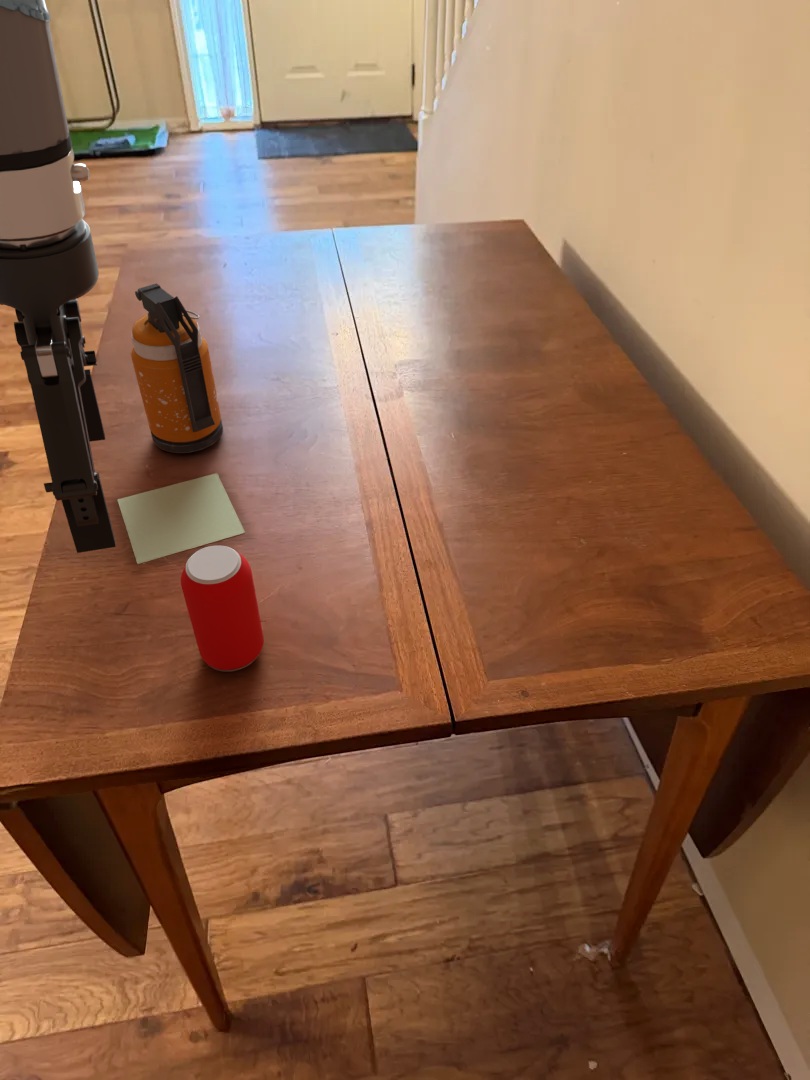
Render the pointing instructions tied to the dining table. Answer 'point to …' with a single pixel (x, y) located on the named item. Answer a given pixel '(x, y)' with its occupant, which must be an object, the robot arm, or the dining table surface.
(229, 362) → the dining table surface
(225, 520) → the felt mat
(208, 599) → the beverage can
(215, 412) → the canister
